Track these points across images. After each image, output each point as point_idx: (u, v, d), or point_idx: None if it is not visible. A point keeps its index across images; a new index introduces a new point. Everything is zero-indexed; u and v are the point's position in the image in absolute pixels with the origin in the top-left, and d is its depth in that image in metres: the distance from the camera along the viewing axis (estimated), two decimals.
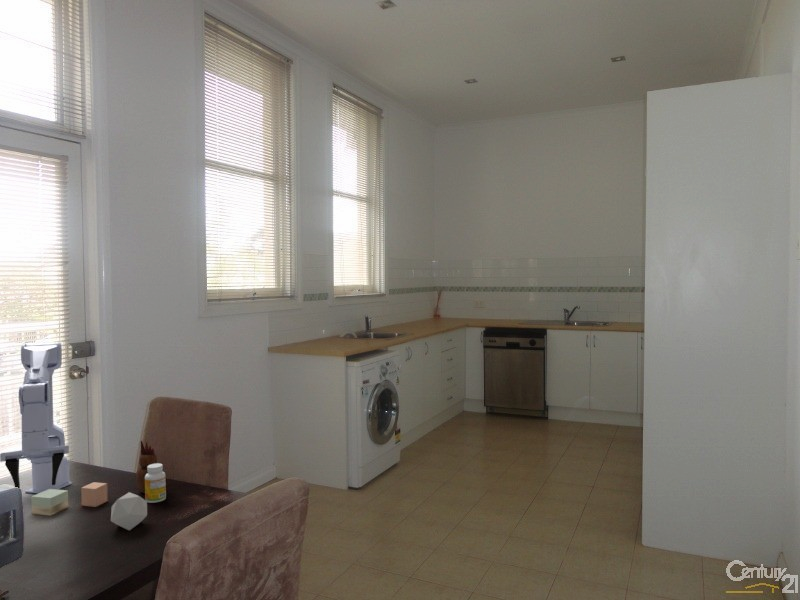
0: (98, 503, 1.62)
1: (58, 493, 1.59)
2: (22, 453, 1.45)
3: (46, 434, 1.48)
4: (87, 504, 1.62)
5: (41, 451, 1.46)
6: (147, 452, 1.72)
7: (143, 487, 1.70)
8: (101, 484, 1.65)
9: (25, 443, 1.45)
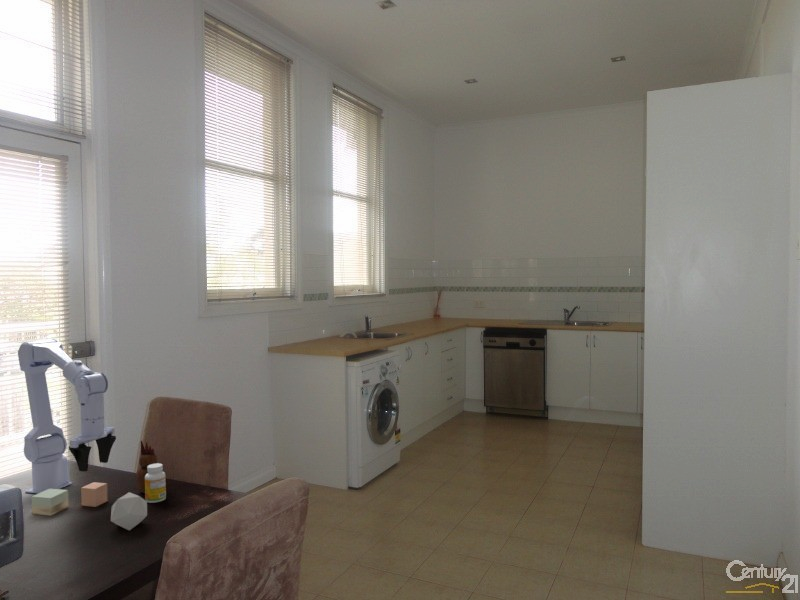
0: (98, 503, 1.62)
1: (58, 493, 1.59)
2: (93, 438, 1.60)
3: None
4: (87, 504, 1.62)
5: None
6: (147, 452, 1.72)
7: (143, 487, 1.70)
8: (101, 484, 1.65)
9: (93, 429, 1.61)
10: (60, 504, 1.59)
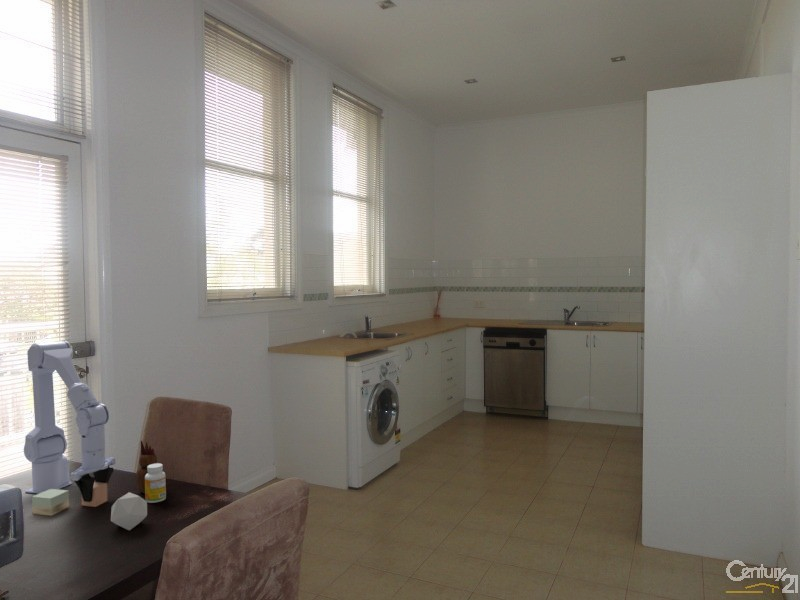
0: (98, 503, 1.62)
1: (58, 493, 1.59)
2: (94, 470, 1.61)
3: None
4: (87, 504, 1.62)
5: None
6: (147, 452, 1.72)
7: (143, 487, 1.70)
8: (101, 484, 1.65)
9: (94, 461, 1.61)
10: (61, 504, 1.59)
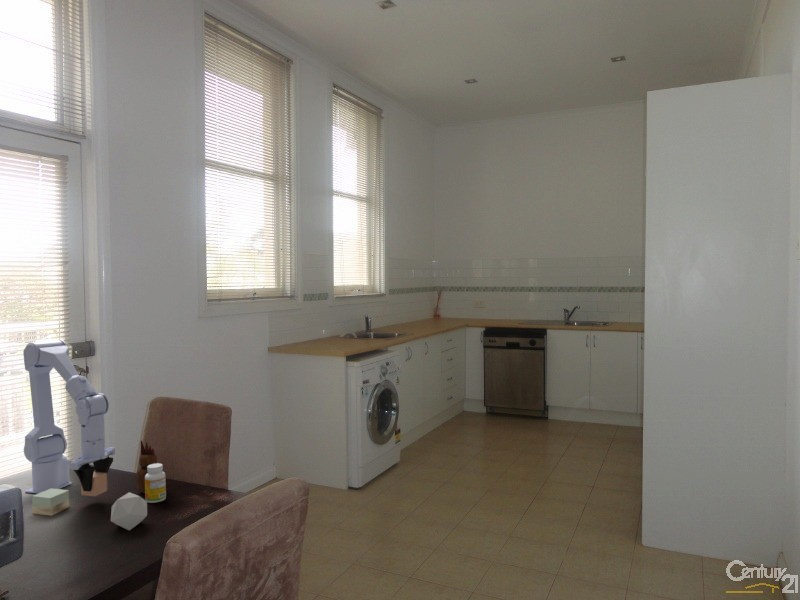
0: (98, 492, 1.62)
1: (58, 493, 1.59)
2: (93, 459, 1.61)
3: None
4: (87, 493, 1.62)
5: None
6: (147, 452, 1.72)
7: (143, 487, 1.70)
8: (101, 473, 1.65)
9: (94, 450, 1.61)
10: (61, 504, 1.59)
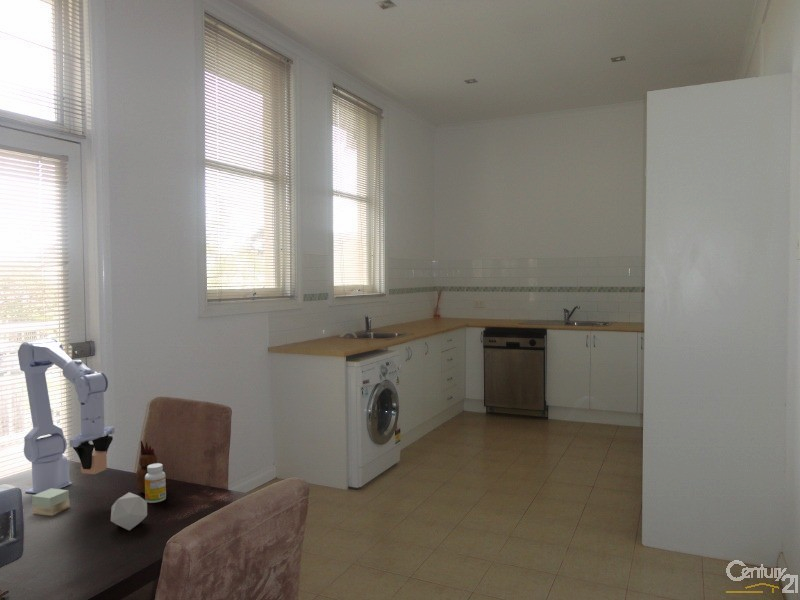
0: (97, 470, 1.62)
1: (58, 493, 1.59)
2: (93, 437, 1.60)
3: None
4: (86, 471, 1.62)
5: None
6: (147, 452, 1.72)
7: (143, 487, 1.70)
8: (100, 452, 1.64)
9: (93, 428, 1.61)
10: (61, 504, 1.59)
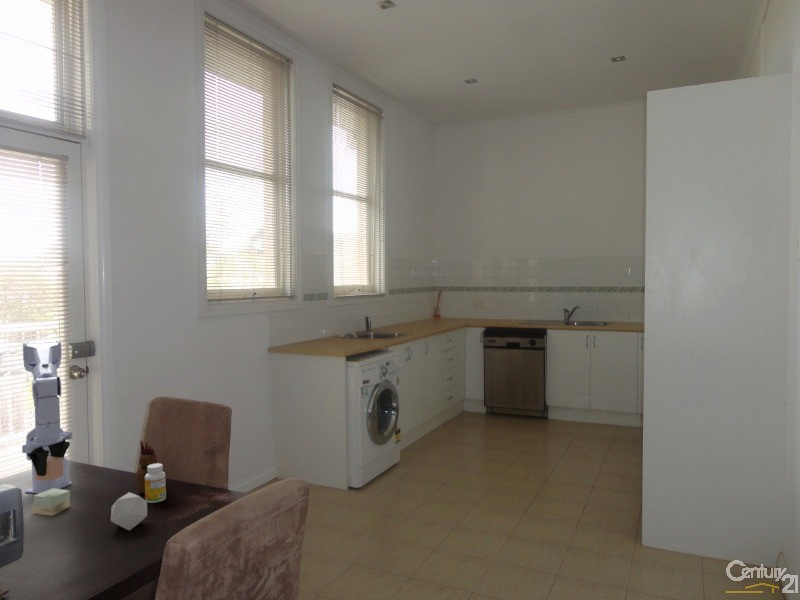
0: (52, 477, 1.57)
1: (59, 493, 1.59)
2: (47, 443, 1.56)
3: None
4: (41, 478, 1.57)
5: None
6: (147, 452, 1.72)
7: (143, 487, 1.70)
8: (56, 458, 1.60)
9: (48, 434, 1.56)
10: (61, 504, 1.59)
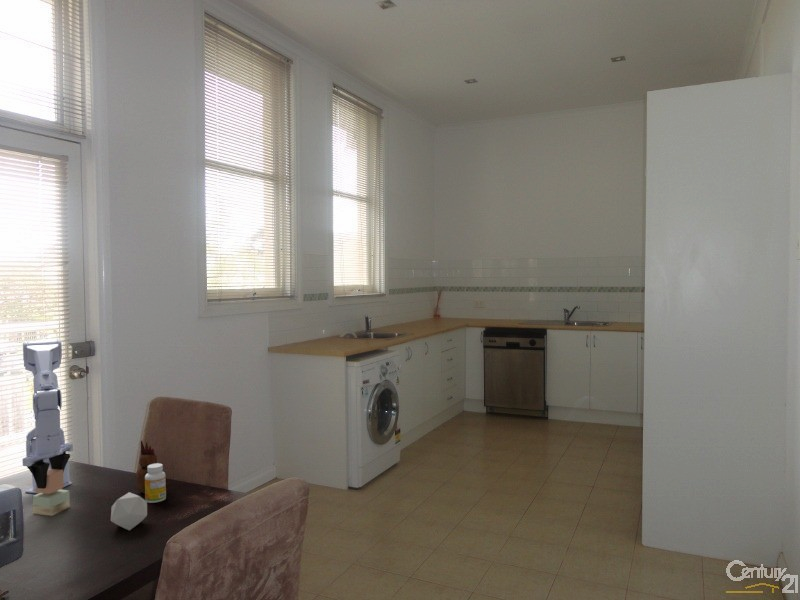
0: (53, 490, 1.57)
1: (58, 494, 1.58)
2: (48, 455, 1.56)
3: None
4: (41, 491, 1.57)
5: None
6: (147, 452, 1.72)
7: (143, 487, 1.70)
8: (56, 470, 1.60)
9: (48, 446, 1.56)
10: (61, 504, 1.59)
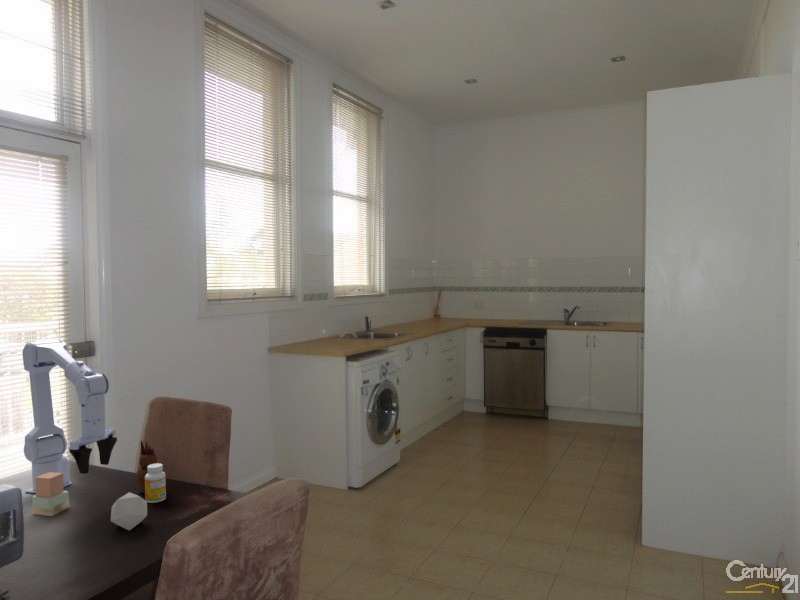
0: (53, 493, 1.57)
1: (57, 494, 1.58)
2: (94, 439, 1.58)
3: None
4: (41, 494, 1.57)
5: None
6: (147, 452, 1.72)
7: (143, 487, 1.70)
8: (57, 474, 1.59)
9: (94, 430, 1.59)
10: (61, 504, 1.58)
